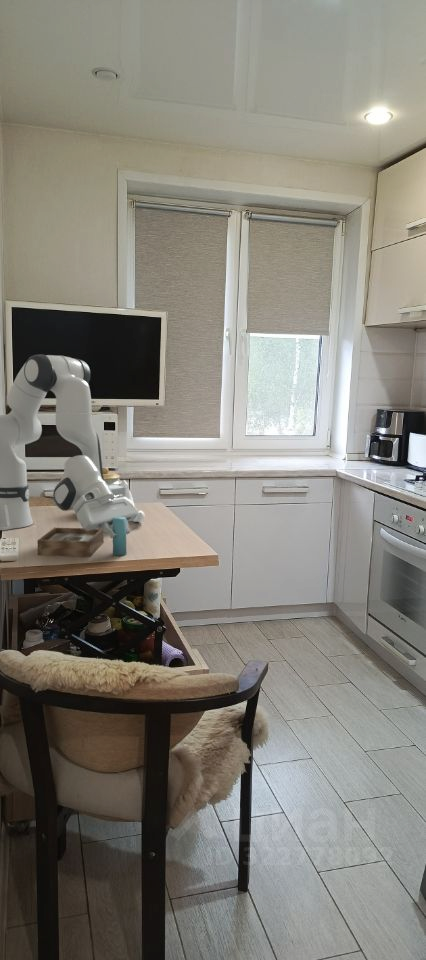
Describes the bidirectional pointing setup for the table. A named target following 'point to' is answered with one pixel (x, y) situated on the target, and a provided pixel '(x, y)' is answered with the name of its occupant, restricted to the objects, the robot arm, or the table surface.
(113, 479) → the jar
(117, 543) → the teal rectangular block
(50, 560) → the table surface
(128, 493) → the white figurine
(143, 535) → the table surface
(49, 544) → the peg box
